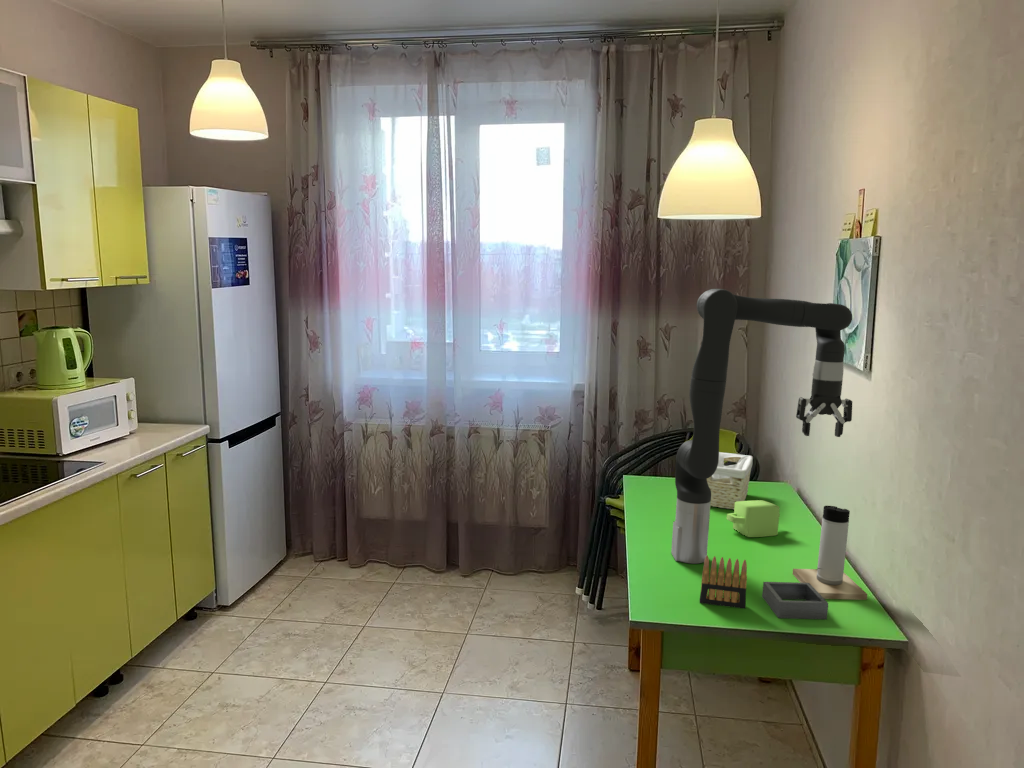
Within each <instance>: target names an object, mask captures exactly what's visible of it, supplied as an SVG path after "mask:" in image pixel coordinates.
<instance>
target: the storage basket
mask: <svg viewBox="0 0 1024 768" xmlns="http://www.w3.org/2000/svg"><path fill="white" fill-rule="evenodd" d="M753 459H754V457H753V456H752V455H749V454H748V455H747V454H746V455H745V454H740V453H730V452H721V451H719V462H718V466H717V469H716V471H715V472H714V474H713V475H712V476H711V477H709V478H707V483H708V486H709V488H710V490H711V506H710V507H714V508H717V507H718V508H720V509H726V510H734V506H735V502H738V501H746V498H747V495H748V491H749V490H748V489H749V485H750V484H749V482H750V478H751V477H750V476H751V471H752V468H753ZM725 461H726V462H732V463H735V464H729V465H725Z"/></svg>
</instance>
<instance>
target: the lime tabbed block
mask: <svg viewBox="0 0 1024 768" xmlns="http://www.w3.org/2000/svg"><path fill="white" fill-rule="evenodd" d="M733 510H734V511H733V512H730V513H726V520H727V521H730V523H731V522H732V526H733V527H732V529H733V530H734V529H735V530H734V531H736V530H737V531H738V533H739V532H740V533H739V534H741V535H743V536H744V535H745V537H747V538H759V537H762V538H763V537H773V536H777V535H778V532H779V521H780V517H781V513H780V506H778V505H777V504H774V503H771V502H769V501H767V500H761V499H759V500H758V499H756V500H744V501H738V502H735V506H734V509H733ZM737 531H736V532H737Z"/></svg>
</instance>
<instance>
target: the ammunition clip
mask: <svg viewBox="0 0 1024 768" xmlns="http://www.w3.org/2000/svg"><path fill="white" fill-rule="evenodd" d="M747 568H748V565H747V559H744V560H743V562H742V565H741V570H740V562H739V559H738V558H736V560H735V562H734V565H732V558H731V557H729V558H728V560H727V563H726V568H725V560H724V556H722V557H721V558H720V560H719V566H718V569H717V558H716V555H714V556H713V558H712V561H711V567H710V559H709V556H708V555H707V556H706V558H705V561H704V562H703V568H702V574H701V584H700V585H701V586H700V595H699V604H705V605H713V606H721V607H728V608H736V609H746V605H747V604H746V601H747V600H746V599H747V597H746V595H747V581H748V575H747V573H748V572H747V571H748V570H747ZM717 570H718V572H717ZM732 570H733V571H732ZM740 571H741V572H740ZM732 572H733V573H732Z"/></svg>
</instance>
